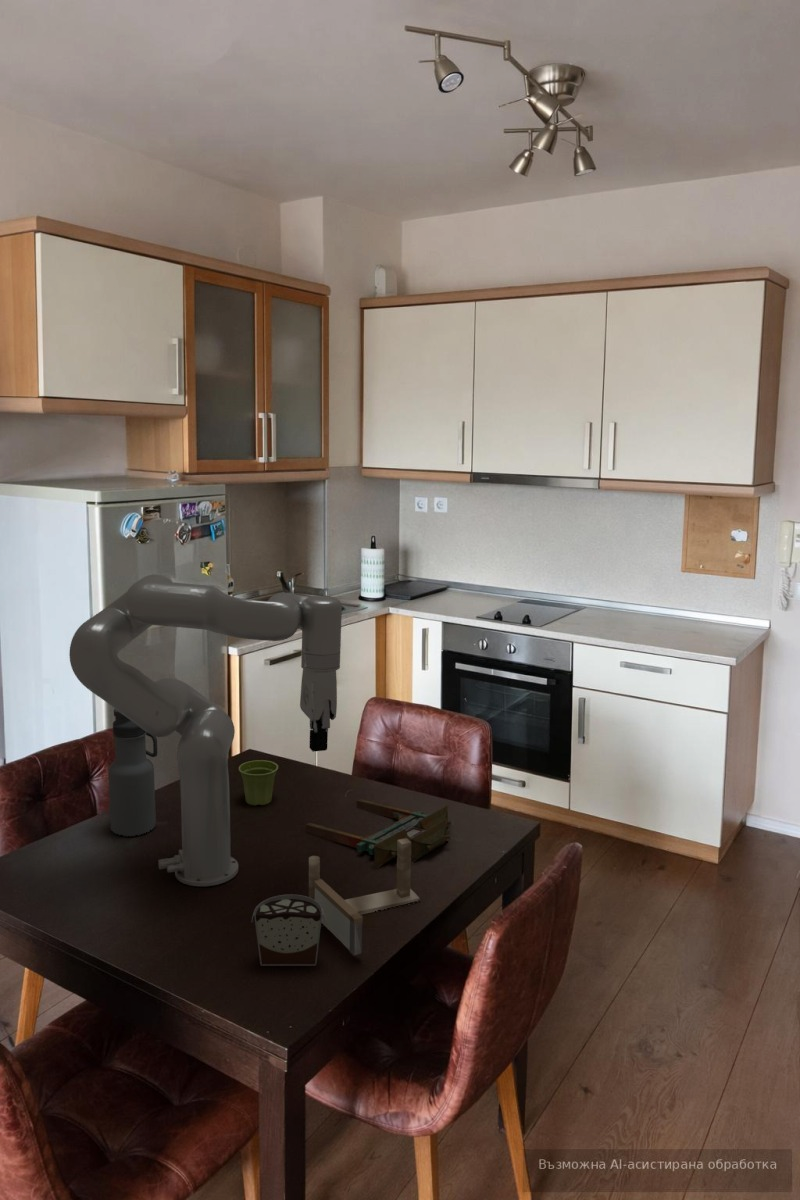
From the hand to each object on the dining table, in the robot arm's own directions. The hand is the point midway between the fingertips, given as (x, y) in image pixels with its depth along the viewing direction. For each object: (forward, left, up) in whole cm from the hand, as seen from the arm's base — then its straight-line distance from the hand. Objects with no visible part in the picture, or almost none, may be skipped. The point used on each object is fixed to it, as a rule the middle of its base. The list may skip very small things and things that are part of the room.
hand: (318, 749), depth 183 cm
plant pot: (-1, +40, -27) cm, 48 cm away
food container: (-15, -26, -27) cm, 40 cm away
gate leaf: (-6, -25, -25) cm, 36 cm away
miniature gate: (+20, +10, -27) cm, 35 cm away
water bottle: (-31, +36, -27) cm, 54 cm away
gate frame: (+2, -16, -26) cm, 31 cm away
